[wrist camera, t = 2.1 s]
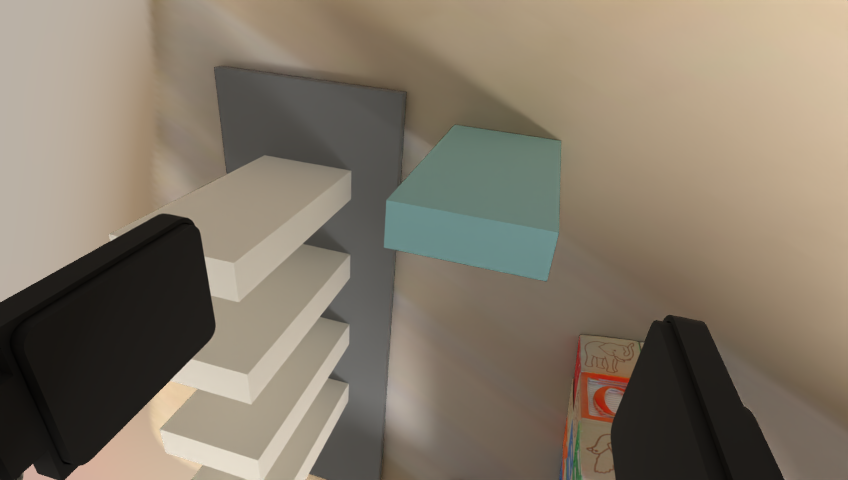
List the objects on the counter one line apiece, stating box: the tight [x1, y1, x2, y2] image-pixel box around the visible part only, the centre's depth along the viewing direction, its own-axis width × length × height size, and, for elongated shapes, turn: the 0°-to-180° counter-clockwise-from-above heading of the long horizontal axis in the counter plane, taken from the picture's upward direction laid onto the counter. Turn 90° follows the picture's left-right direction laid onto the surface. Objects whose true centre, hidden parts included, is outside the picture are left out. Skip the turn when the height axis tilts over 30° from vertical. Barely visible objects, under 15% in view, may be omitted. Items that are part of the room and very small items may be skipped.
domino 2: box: [170, 244, 350, 404], centre depth 23 cm, size 5×2×10 cm, turn 85°
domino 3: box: [160, 317, 349, 480], centre depth 25 cm, size 5×2×10 cm, turn 85°
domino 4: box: [192, 378, 349, 480], centre depth 28 cm, size 5×2×10 cm, turn 85°
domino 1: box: [109, 155, 351, 302], centre depth 21 cm, size 5×2×10 cm, turn 85°
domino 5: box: [384, 125, 561, 281], centre depth 18 cm, size 5×2×10 cm, turn 85°
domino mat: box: [214, 66, 406, 480], centre depth 30 cm, size 10×30×1 cm, turn 175°
